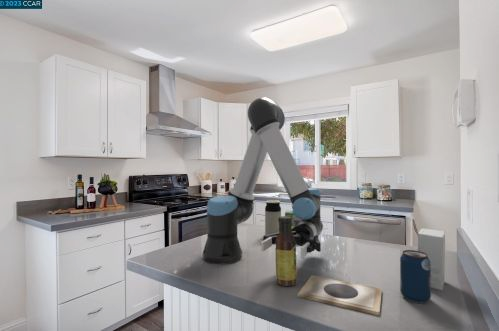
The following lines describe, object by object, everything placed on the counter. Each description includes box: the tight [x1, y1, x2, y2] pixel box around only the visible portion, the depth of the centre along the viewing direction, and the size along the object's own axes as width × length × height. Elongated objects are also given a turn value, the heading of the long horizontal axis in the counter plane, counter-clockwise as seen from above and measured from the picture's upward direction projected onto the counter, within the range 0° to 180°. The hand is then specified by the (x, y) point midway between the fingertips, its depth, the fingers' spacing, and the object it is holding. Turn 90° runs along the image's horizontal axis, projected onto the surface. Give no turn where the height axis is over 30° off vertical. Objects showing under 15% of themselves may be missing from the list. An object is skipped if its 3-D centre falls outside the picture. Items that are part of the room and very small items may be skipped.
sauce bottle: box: [275, 215, 297, 287], centre depth 83 cm, size 7×6×20 cm
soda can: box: [399, 249, 432, 304], centre depth 73 cm, size 7×7×12 cm
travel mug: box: [264, 199, 282, 235], centre depth 137 cm, size 8×8×18 cm
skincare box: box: [417, 227, 446, 291], centre depth 82 cm, size 8×7×16 cm
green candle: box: [284, 204, 301, 228], centre depth 144 cm, size 9×9×15 cm
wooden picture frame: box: [297, 275, 383, 316], centre depth 75 cm, size 20×14×1 cm
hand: (281, 249), depth 79 cm, fingers open, 12 cm apart
